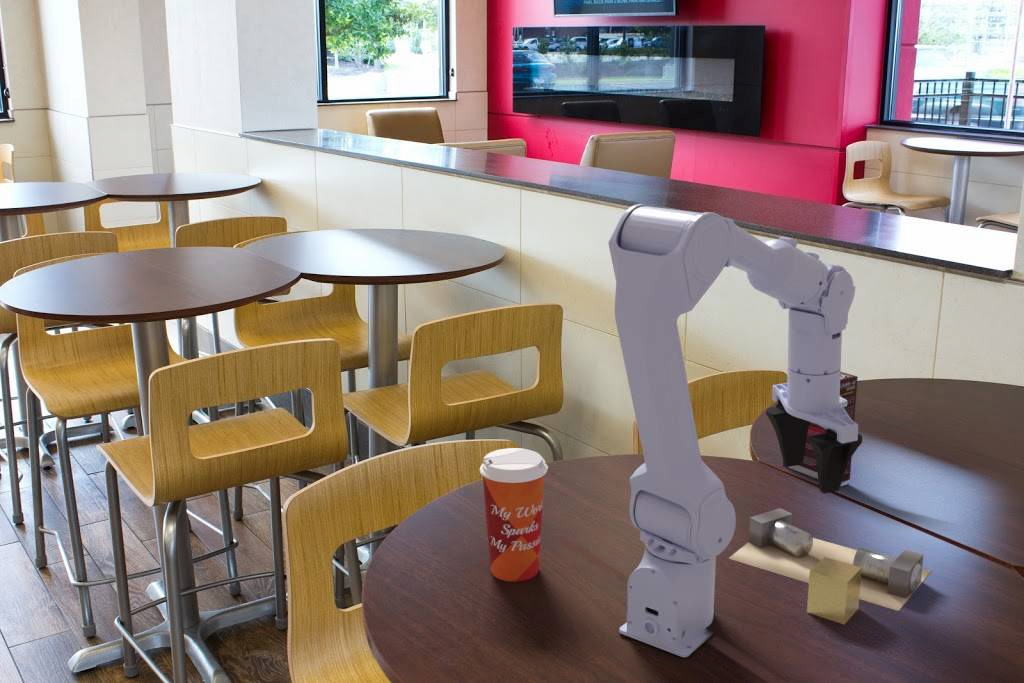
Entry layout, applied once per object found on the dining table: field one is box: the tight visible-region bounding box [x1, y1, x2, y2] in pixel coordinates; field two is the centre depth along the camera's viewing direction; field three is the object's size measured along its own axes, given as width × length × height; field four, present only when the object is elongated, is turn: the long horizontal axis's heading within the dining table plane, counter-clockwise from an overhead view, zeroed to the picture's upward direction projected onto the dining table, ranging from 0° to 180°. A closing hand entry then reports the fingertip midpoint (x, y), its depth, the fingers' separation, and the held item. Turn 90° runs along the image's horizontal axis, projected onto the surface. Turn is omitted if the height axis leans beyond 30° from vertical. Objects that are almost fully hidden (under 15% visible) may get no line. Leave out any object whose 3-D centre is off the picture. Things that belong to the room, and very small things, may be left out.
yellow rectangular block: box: [806, 557, 862, 625], centre depth 107 cm, size 4×4×6 cm
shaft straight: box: [853, 547, 921, 592], centre depth 113 cm, size 6×3×3 cm, turn 51°
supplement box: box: [782, 371, 859, 484], centre depth 142 cm, size 9×5×16 cm, turn 34°
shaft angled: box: [768, 520, 814, 558], centre depth 121 cm, size 6×3×3 cm, turn 31°
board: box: [727, 507, 932, 612], centre depth 117 cm, size 11×20×4 cm, turn 51°
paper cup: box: [479, 447, 549, 583], centre depth 117 cm, size 8×8×14 cm
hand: (810, 477), depth 118 cm, fingers open, 7 cm apart
